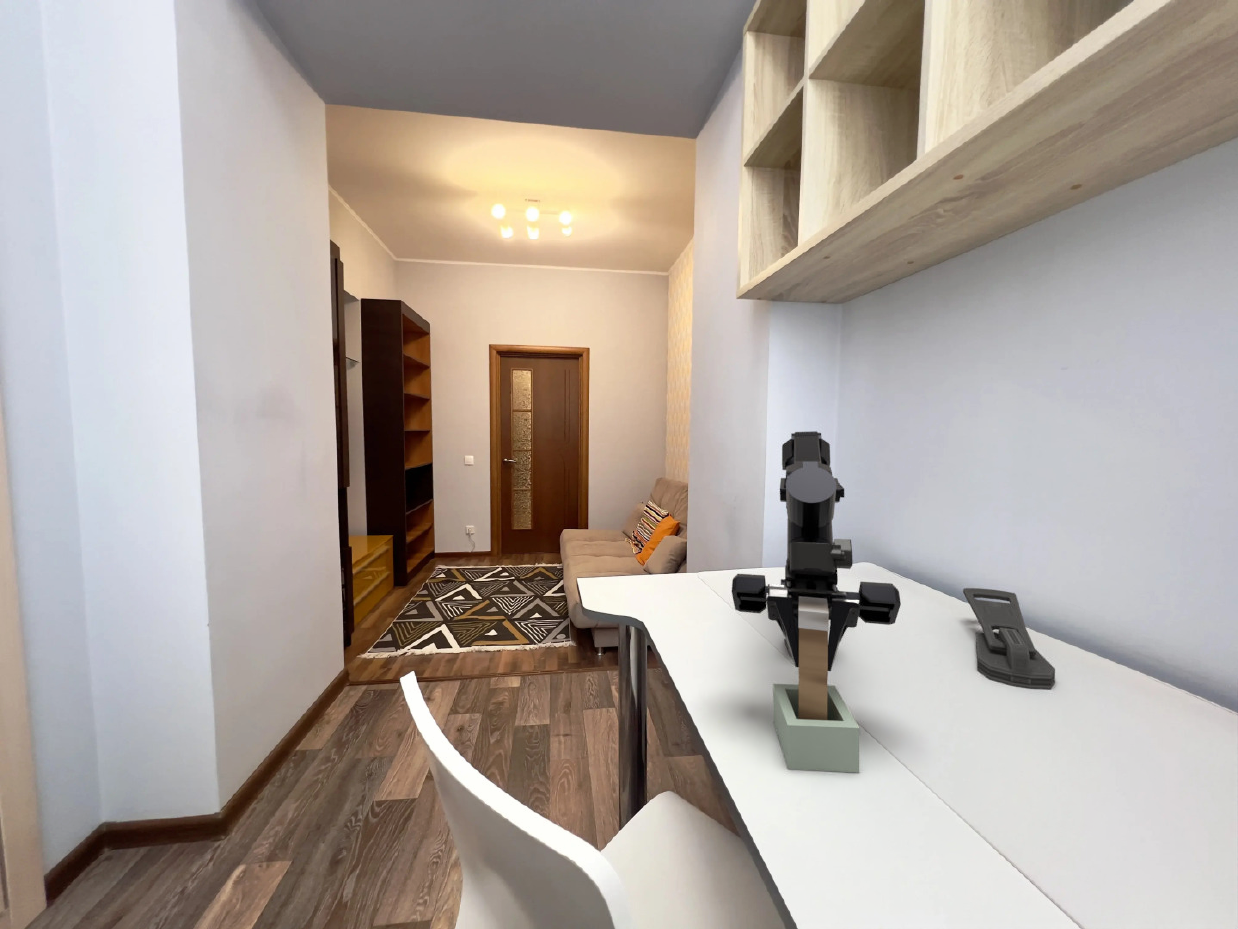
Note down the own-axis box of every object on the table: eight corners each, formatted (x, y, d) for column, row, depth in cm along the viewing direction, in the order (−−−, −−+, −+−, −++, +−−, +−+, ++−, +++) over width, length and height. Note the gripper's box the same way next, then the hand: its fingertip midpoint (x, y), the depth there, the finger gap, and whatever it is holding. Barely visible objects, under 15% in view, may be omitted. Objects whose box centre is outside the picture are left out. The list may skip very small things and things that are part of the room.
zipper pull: (1018, 591, 90) (1063, 647, 68) (1017, 628, 91) (1062, 695, 68) (958, 585, 94) (982, 636, 72) (958, 620, 95) (981, 681, 73)
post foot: (773, 722, 64) (773, 683, 64) (834, 724, 63) (834, 685, 63) (787, 769, 55) (787, 725, 55) (859, 772, 54) (859, 728, 54)
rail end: (798, 708, 62) (798, 596, 61) (825, 712, 61) (826, 598, 60) (797, 730, 57) (798, 610, 56) (827, 735, 56) (828, 613, 55)
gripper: (732, 511, 64) (721, 630, 55) (898, 515, 58) (919, 650, 48) (739, 556, 72) (731, 667, 63) (886, 564, 66) (902, 688, 56)
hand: (812, 668), depth 57 cm, fingers closed on rail end, 3 cm apart
